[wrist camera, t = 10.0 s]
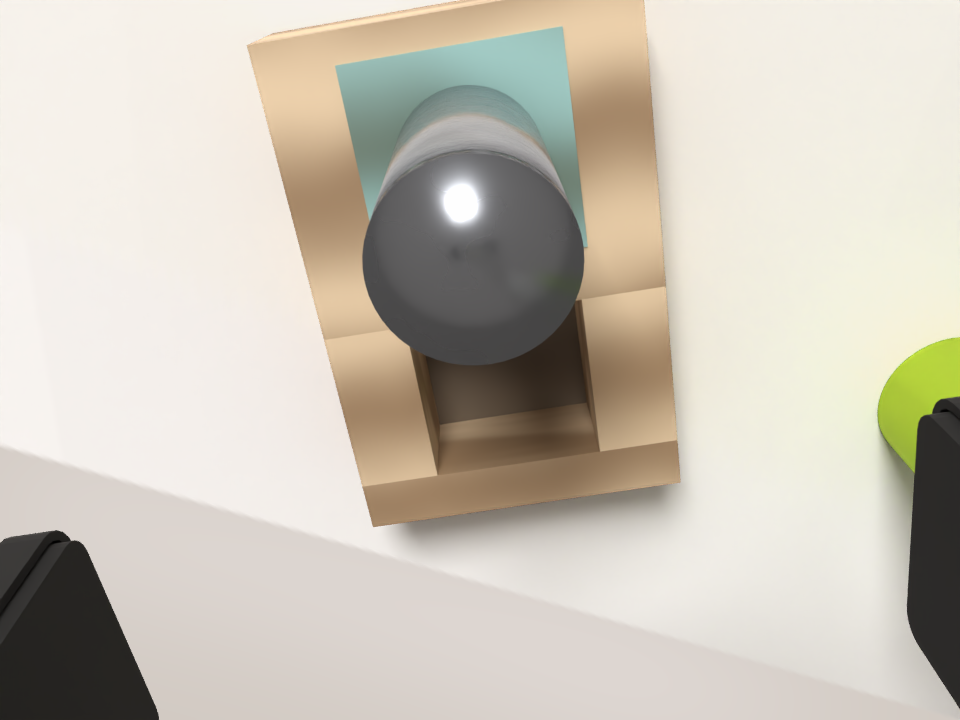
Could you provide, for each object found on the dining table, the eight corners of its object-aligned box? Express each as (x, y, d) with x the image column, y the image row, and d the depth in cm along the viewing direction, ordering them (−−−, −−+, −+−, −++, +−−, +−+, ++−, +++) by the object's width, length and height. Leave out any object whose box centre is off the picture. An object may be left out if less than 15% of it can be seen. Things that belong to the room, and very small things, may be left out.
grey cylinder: (553, 222, 29) (595, 348, 20) (410, 245, 29) (387, 380, 20) (534, 72, 27) (570, 135, 18) (380, 98, 27) (339, 174, 18)
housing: (659, 430, 37) (681, 483, 33) (381, 471, 38) (372, 528, 34) (620, -28, 29) (642, -25, 26) (273, 33, 30) (246, 45, 26)
